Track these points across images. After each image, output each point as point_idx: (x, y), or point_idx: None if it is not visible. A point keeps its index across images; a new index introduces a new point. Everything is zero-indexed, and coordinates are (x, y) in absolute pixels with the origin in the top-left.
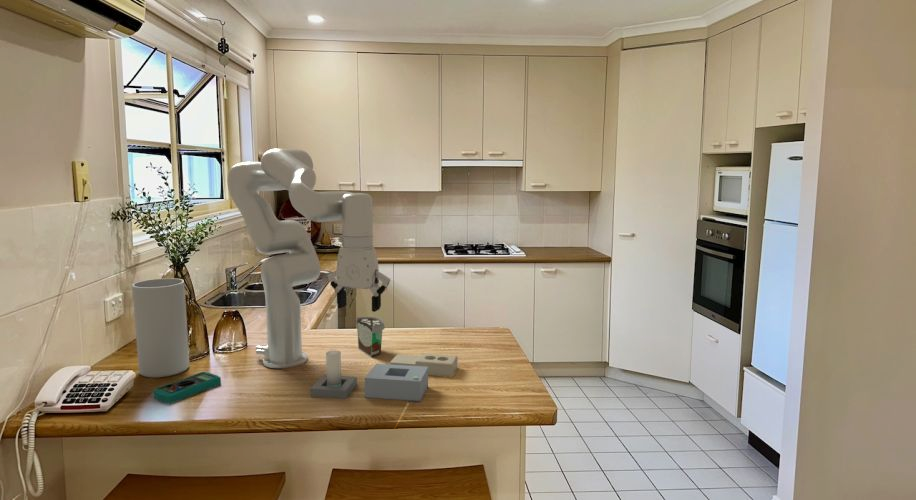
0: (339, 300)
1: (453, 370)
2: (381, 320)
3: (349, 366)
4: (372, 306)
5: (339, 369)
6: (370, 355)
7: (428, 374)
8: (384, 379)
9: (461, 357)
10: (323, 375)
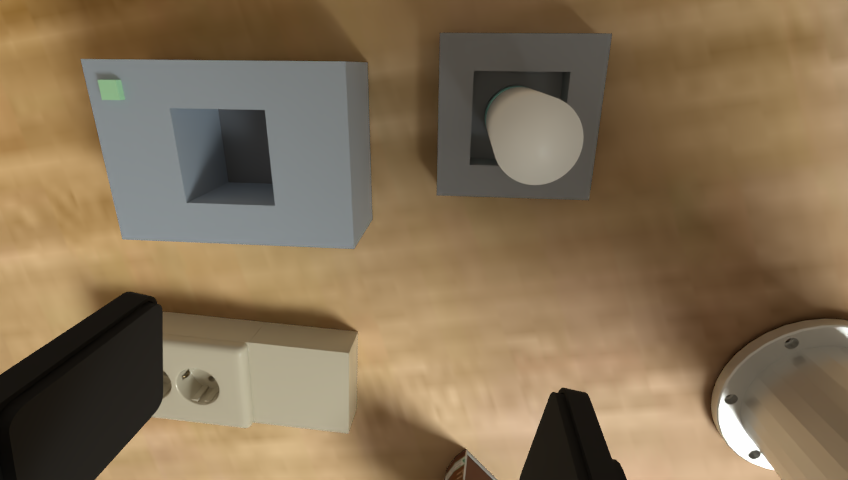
0: (585, 456)
1: None
2: None
3: (524, 366)
4: (107, 320)
5: (491, 117)
6: (471, 459)
7: (214, 318)
8: (248, 61)
9: (163, 465)
10: (589, 194)
